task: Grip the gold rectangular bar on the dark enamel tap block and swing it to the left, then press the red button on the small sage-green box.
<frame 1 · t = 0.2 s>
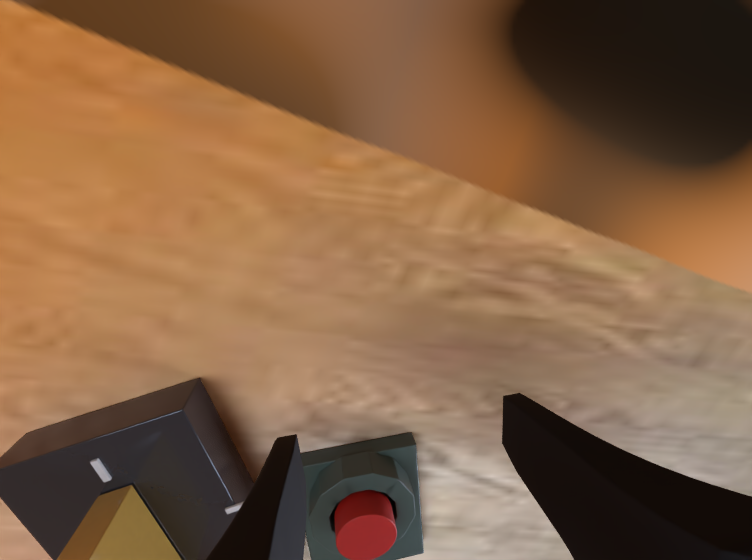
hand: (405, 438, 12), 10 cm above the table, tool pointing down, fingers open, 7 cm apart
button: (364, 524, 22), point 4 cm above the table, slide at 0.1 cm
tap block: (168, 491, 23), on the table
button box: (361, 499, 26), on the table
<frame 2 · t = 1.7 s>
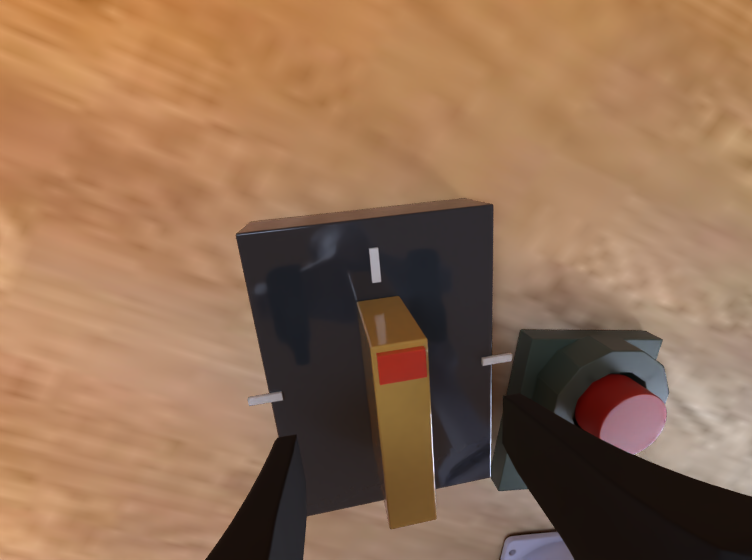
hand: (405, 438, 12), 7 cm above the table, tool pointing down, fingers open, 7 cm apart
button: (619, 414, 18), point 4 cm above the table, slide at 0.1 cm
gold rectangular bar: (395, 407, 14), point 5 cm above the table, hinge at 0.0°
tap block: (374, 345, 19), on the table
button box: (564, 405, 22), on the table
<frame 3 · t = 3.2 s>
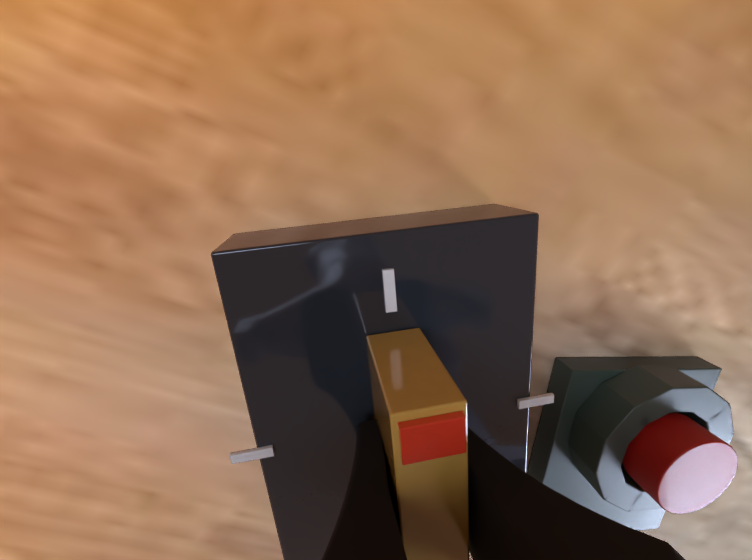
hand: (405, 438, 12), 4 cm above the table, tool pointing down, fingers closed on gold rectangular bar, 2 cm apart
button: (677, 462, 15), point 4 cm above the table, slide at 0.1 cm
gold rectangular bar: (416, 473, 11), point 5 cm above the table, hinge at -0.1°, touching gripper
tap block: (385, 378, 16), on the table
button box: (602, 441, 19), on the table
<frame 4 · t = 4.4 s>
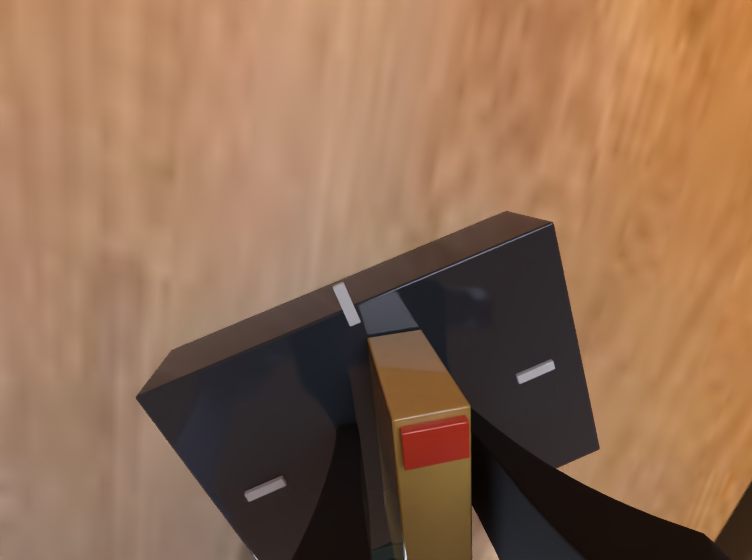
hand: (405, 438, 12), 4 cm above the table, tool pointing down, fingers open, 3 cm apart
gold rectangular bar: (418, 477, 11), point 5 cm above the table, hinge at 74.3°
tap block: (386, 380, 16), on the table
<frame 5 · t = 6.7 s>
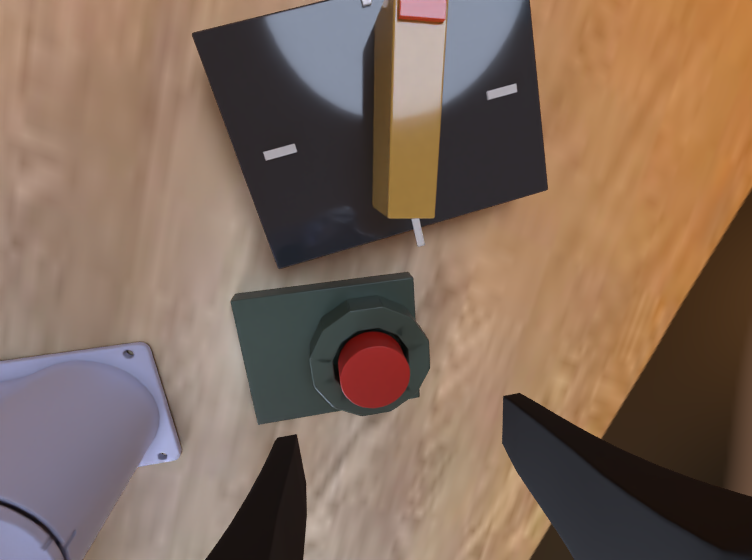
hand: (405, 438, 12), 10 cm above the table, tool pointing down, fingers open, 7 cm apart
button: (373, 369, 19), point 4 cm above the table, slide at 0.1 cm
gold rectangular bar: (404, 115, 14), point 5 cm above the table, hinge at 74.3°
tap block: (381, 127, 19), on the table
button box: (332, 343, 22), on the table
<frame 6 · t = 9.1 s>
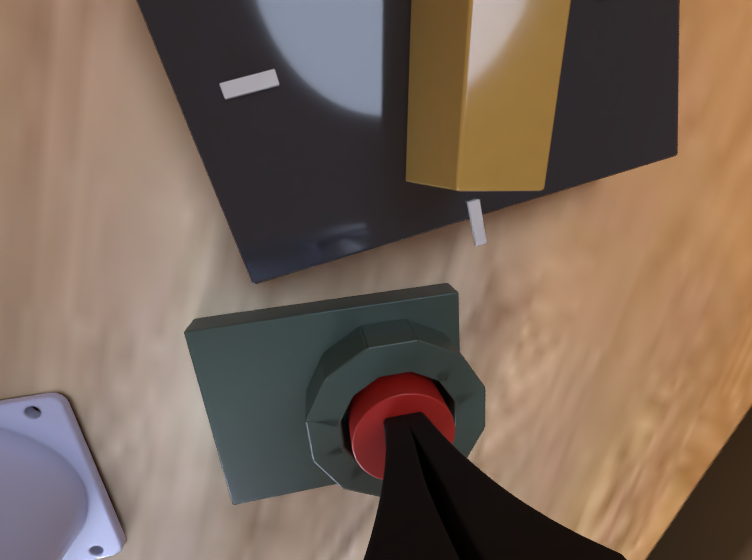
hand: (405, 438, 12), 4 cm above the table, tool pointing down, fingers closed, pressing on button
button: (399, 422, 13), point 3 cm above the table, slide at -0.5 cm, touching gripper
tap block: (413, 63, 12), on the table
button box: (338, 386, 16), on the table
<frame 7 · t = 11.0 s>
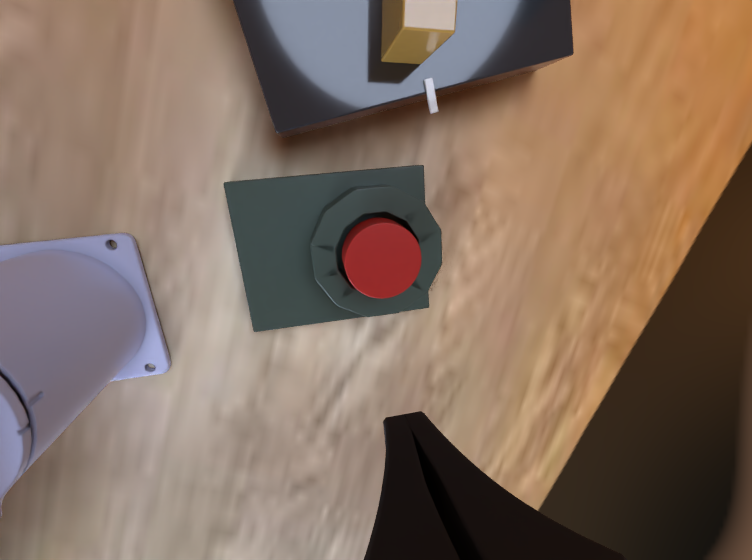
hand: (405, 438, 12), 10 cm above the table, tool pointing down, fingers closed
button: (380, 257, 18), point 4 cm above the table, slide at 0.1 cm
button box: (334, 246, 21), on the table
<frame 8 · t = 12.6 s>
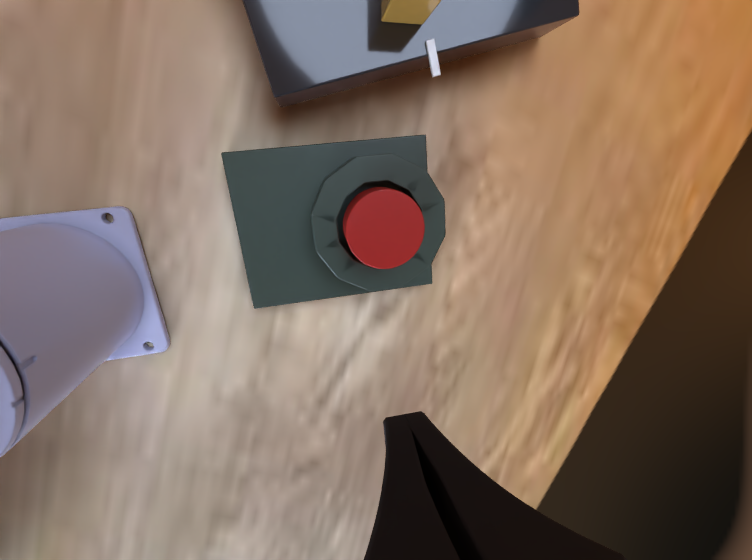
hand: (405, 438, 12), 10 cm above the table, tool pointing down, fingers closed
button: (382, 227, 17), point 4 cm above the table, slide at 0.1 cm
button box: (335, 221, 20), on the table
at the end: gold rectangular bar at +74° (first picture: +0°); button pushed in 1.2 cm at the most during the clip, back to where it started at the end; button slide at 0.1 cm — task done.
